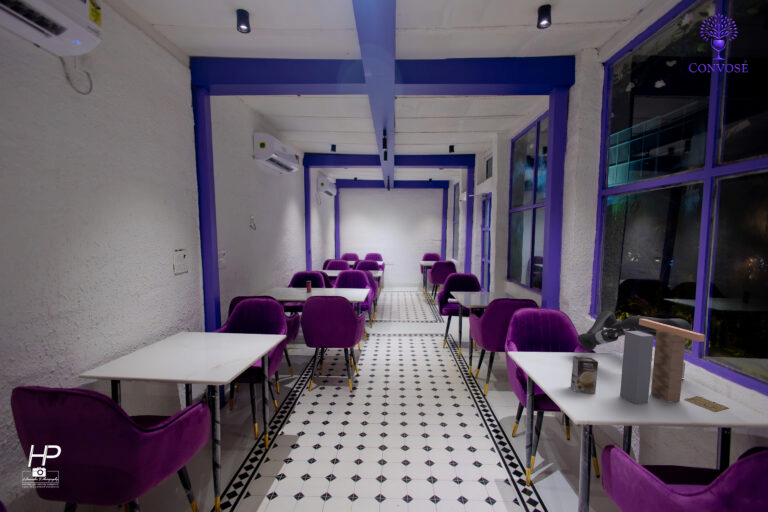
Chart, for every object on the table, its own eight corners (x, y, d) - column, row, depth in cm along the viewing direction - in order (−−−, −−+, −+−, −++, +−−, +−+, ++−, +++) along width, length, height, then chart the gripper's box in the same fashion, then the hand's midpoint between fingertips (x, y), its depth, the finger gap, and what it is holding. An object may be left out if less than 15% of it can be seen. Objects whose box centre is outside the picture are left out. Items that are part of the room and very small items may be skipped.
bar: (638, 324, 171) (639, 318, 171) (643, 324, 172) (644, 318, 172) (698, 341, 144) (699, 334, 144) (704, 341, 144) (704, 334, 144)
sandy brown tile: (682, 400, 157) (682, 398, 157) (697, 396, 162) (697, 395, 162) (714, 413, 146) (715, 411, 146) (730, 409, 150) (730, 407, 150)
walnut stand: (650, 394, 162) (656, 330, 160) (662, 393, 163) (668, 330, 161) (667, 402, 154) (673, 335, 152) (679, 401, 155) (685, 335, 154)
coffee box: (576, 392, 161) (578, 360, 160) (570, 386, 167) (572, 355, 166) (596, 394, 160) (598, 362, 159) (589, 388, 166) (591, 357, 165)
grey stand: (619, 395, 159) (625, 331, 157) (632, 395, 160) (637, 330, 158) (635, 404, 151) (641, 336, 149) (647, 403, 152) (653, 335, 150)
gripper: (619, 342, 192) (643, 336, 178) (598, 342, 189) (620, 336, 175) (614, 329, 195) (637, 322, 181) (593, 329, 193) (615, 322, 178)
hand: (629, 329), depth 178 cm, fingers open, 8 cm apart
